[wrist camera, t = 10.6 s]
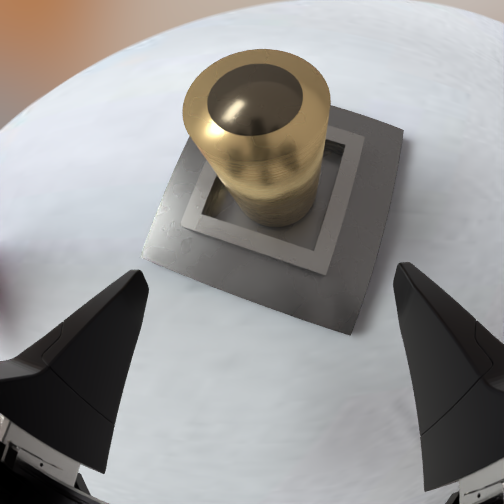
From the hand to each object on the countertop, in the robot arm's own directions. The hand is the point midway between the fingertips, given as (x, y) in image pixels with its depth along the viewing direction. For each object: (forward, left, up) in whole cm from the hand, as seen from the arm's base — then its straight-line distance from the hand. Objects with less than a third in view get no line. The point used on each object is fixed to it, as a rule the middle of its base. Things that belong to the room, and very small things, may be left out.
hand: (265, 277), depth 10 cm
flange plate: (+2, -5, -8) cm, 10 cm away
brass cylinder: (+2, -5, -7) cm, 9 cm away
